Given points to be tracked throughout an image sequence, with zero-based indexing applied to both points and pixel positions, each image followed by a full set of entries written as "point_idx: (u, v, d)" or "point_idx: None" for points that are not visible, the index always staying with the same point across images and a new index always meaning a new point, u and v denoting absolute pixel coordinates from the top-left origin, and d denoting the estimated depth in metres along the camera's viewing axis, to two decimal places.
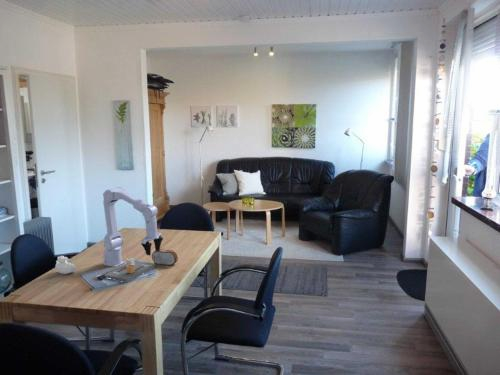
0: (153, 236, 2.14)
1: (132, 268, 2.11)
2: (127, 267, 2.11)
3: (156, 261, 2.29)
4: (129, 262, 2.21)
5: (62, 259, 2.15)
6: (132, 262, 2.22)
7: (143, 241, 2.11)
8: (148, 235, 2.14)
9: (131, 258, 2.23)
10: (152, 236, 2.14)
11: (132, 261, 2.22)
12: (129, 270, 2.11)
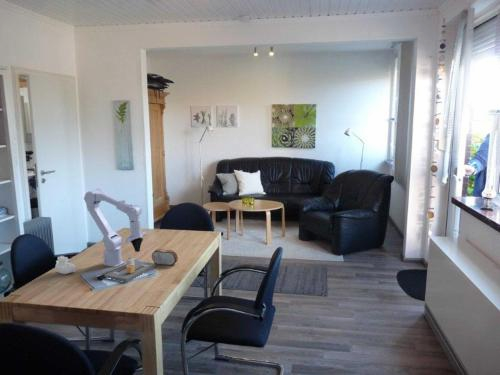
0: (137, 235, 2.23)
1: (132, 268, 2.11)
2: (127, 267, 2.11)
3: (156, 261, 2.29)
4: (129, 262, 2.21)
5: (62, 259, 2.15)
6: (132, 262, 2.22)
7: (127, 240, 2.19)
8: (132, 234, 2.23)
9: (131, 258, 2.23)
10: (135, 235, 2.23)
11: (132, 261, 2.22)
12: (129, 270, 2.11)
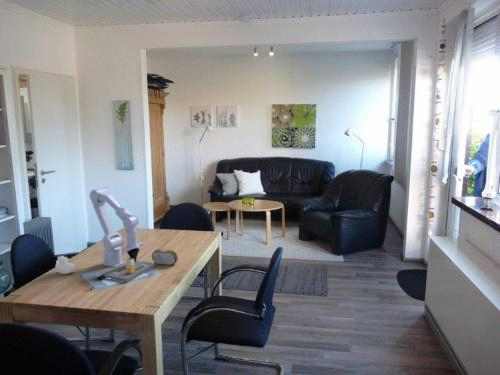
0: (133, 245, 2.21)
1: (132, 268, 2.11)
2: (127, 267, 2.11)
3: (156, 261, 2.29)
4: (129, 262, 2.21)
5: (62, 259, 2.15)
6: (132, 262, 2.21)
7: (123, 250, 2.17)
8: (128, 244, 2.21)
9: (131, 258, 2.23)
10: (132, 245, 2.20)
11: (132, 261, 2.21)
12: (129, 270, 2.11)
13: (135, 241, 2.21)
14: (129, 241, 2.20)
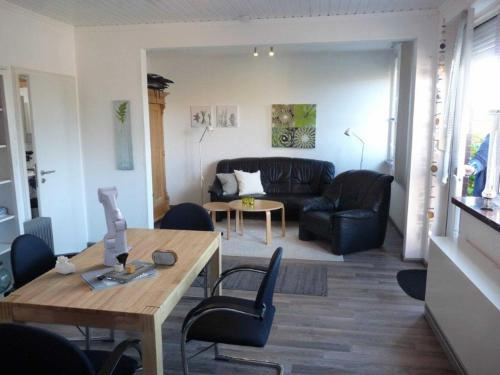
0: (122, 250, 2.13)
1: (132, 268, 2.11)
2: (127, 267, 2.11)
3: (156, 261, 2.29)
4: (117, 268, 2.13)
5: (62, 259, 2.15)
6: (121, 268, 2.14)
7: (112, 256, 2.09)
8: (117, 249, 2.13)
9: (120, 263, 2.15)
10: (121, 250, 2.13)
11: (121, 267, 2.14)
12: (129, 270, 2.11)
13: (124, 246, 2.14)
14: (118, 246, 2.12)
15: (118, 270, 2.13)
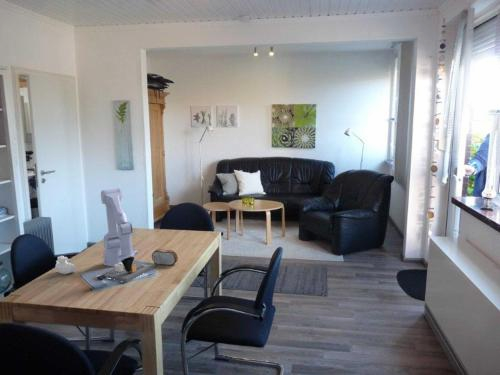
0: (128, 254, 2.07)
1: (133, 267, 2.12)
2: None
3: (156, 261, 2.29)
4: (117, 268, 2.13)
5: (62, 259, 2.15)
6: (121, 268, 2.14)
7: (117, 260, 2.03)
8: (122, 253, 2.07)
9: (120, 263, 2.15)
10: (126, 254, 2.07)
11: (121, 267, 2.14)
12: (131, 269, 2.12)
13: (130, 249, 2.07)
14: (123, 249, 2.06)
15: (118, 270, 2.13)
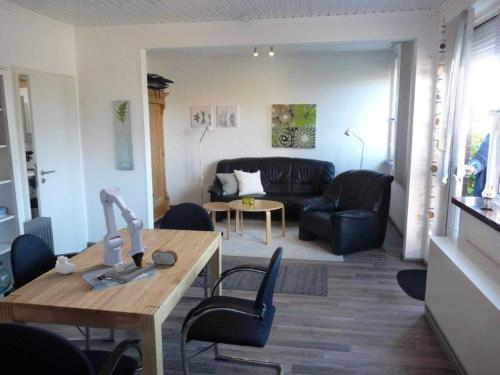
0: (138, 250, 2.14)
1: (143, 262, 2.19)
2: None
3: (156, 261, 2.29)
4: (117, 268, 2.13)
5: (62, 259, 2.15)
6: (121, 268, 2.14)
7: (127, 255, 2.10)
8: (133, 249, 2.14)
9: (120, 263, 2.15)
10: (136, 250, 2.13)
11: (121, 267, 2.14)
12: None
13: (140, 245, 2.14)
14: (133, 245, 2.13)
15: (118, 270, 2.13)
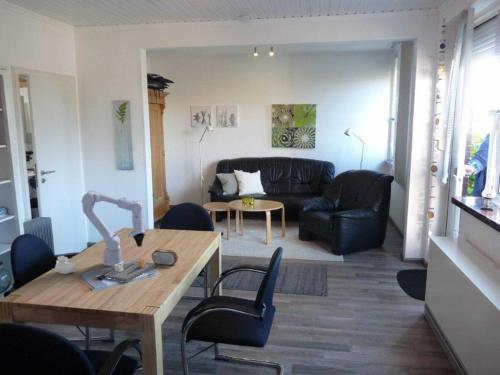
0: (139, 230, 2.28)
1: (143, 262, 2.19)
2: (138, 261, 2.19)
3: (156, 261, 2.29)
4: (117, 268, 2.13)
5: (62, 259, 2.15)
6: (121, 268, 2.14)
7: (129, 235, 2.24)
8: (134, 229, 2.28)
9: (120, 263, 2.15)
10: (138, 230, 2.28)
11: (121, 267, 2.14)
12: (140, 264, 2.19)
13: (141, 226, 2.29)
14: (135, 226, 2.27)
15: (118, 270, 2.13)
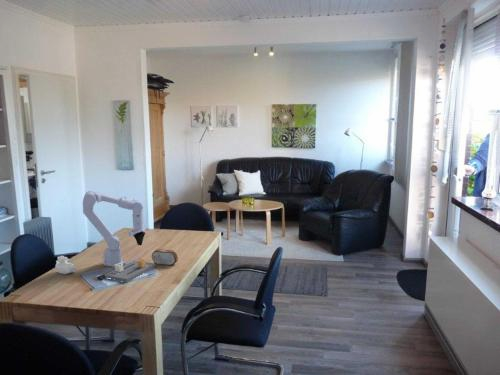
0: (139, 229, 2.31)
1: (143, 262, 2.19)
2: (138, 261, 2.19)
3: (156, 261, 2.29)
4: (117, 268, 2.13)
5: (62, 259, 2.15)
6: (121, 268, 2.14)
7: (130, 234, 2.27)
8: (135, 228, 2.31)
9: (120, 263, 2.15)
10: (138, 229, 2.30)
11: (121, 267, 2.14)
12: (140, 264, 2.19)
13: (141, 225, 2.31)
14: (135, 225, 2.30)
15: (118, 270, 2.13)
